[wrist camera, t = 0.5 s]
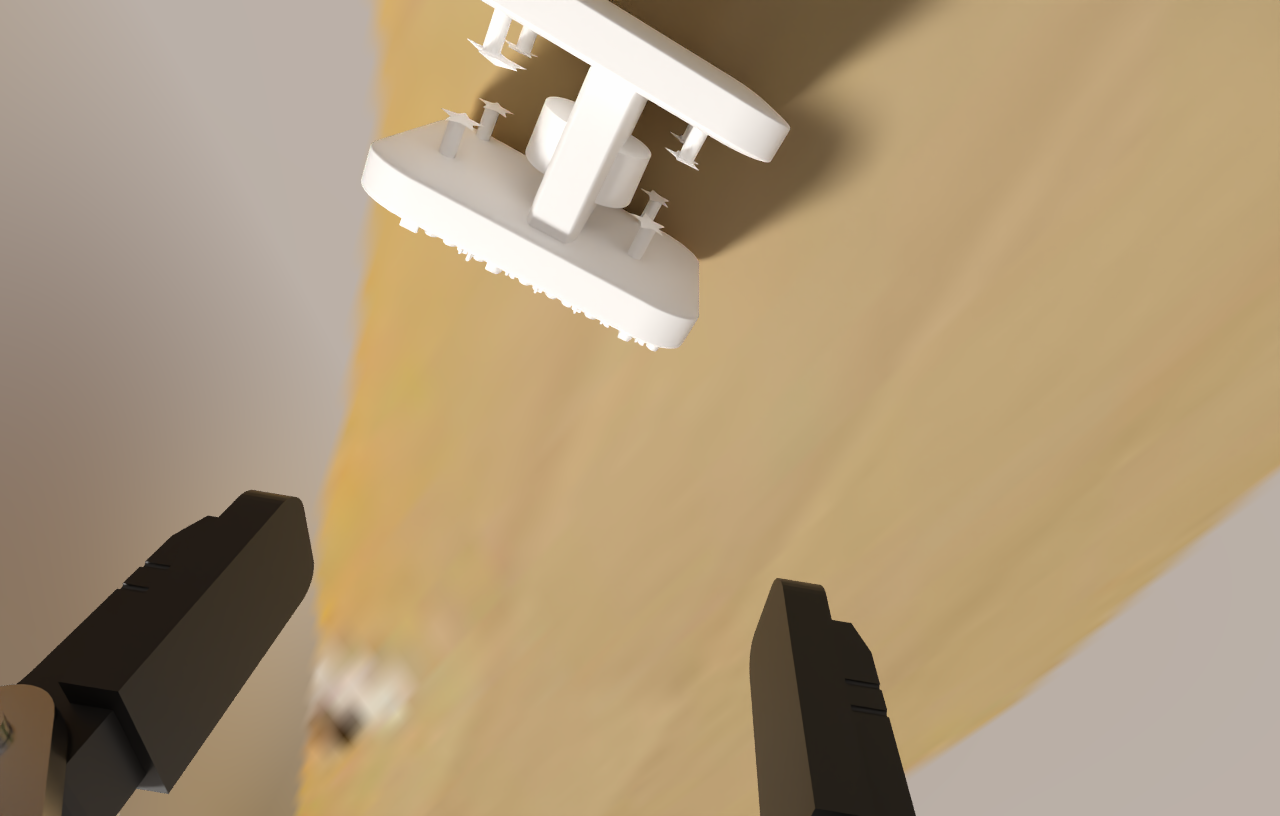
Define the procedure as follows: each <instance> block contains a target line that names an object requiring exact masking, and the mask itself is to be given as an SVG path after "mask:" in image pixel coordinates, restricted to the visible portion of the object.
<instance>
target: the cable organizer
mask: <svg viewBox="0 0 1280 816" xmlns="http://www.w3.org/2000/svg"><path fill="white" fill-rule="evenodd" d="M481 1H483V2H485V3H486V4H488V5H490V6H492V7H493V8H495V10H494V13H493V16H492V19H491V22H490V25H489V28H488V31H487V34H486V37H485V40H484V44H483V46H481V45H479V44H477V43H475V42H473V41H471V40H469V39H468V40H469V41H470V42H471V43H472V44H473V45H474V46H475V47H476V48H477V49H478V50H479V52H480V53H481V54H482V55H483V56H485V57H486V58H487V59H488V60H489V61H491V62H492V63H493V64H494V65H497V66H500V67H504V68H507V69H511V70H514V71H517V70H516V69H515V68H519V69H525V68H523V67H521V66H519V65H518V64H516V63H514V62H512V61H510V60H508V59H507V58H506V57H504V56H503V55H502V54H501V50H502V47H503V44H504V41H506V42H507V43H508V44H509V46H508V47H510V48H512V49H513V50H515V51H517V52H519V53H521V54H523V55H525V56H527V57H530V58H531V56H535V57H537V56H536V55H534V54H532V53H531V50H532V48H533V45H534V42H535V39H536V37H537V34H539V35H540V36H542V37H544V38H545V39H547V40H549V41H550V42H552V43H554V44H556V45H557V46H559V47H561V48H562V49H564V50H566V51H567V52H569V53H571V54H572V55H574V56H576V57H577V58H579V59H581V60H582V61H584V62H586V63H588V64H589V65H591V67H590V69H589V71H588V73H587V76H586V78H585V80H584V83H583V85H582V87H581V90H580V92H579V94H578V97H577V99H576V102H574V101H571V100H569V99H565V98H561V97H548V98H547V99H546V100H545V103H544V105H543V108H542V110H541V113H540V115H539V118H538V120H537V123H536V125H535V128H534V130H533V133H532V135H531V138H530V140H529V143H528V145H527V148H526V151H525V154H526V155H524V154H522V153H521V152H519V151H517V150H515V149H513V148H512V147H510V146H508V145H506V144H504V143H503V142H501V141H499V140H497V139H495V138H494V137H492V136H491V135H492V132H493V129H494V127H495V124H496V121H497V118H498V116H499V113H500V114H501V115H503V116H504V117H506V115H505V113H509V114H513V113H511V112H510V111H508V110H506V109H504V108H503V107H501V106H500V104H499V103H492V102H489V101H486V100H483V99H480V98H479V99H480V100H482V101H483V102H484V103H485V104H486V105H485V106H484V108H485V110H484V113H483V115H482V118H481V121H480V124H479V123H477V122H475V121H473V120H471V119H469V117H468V116H467V114H466V113H459V114H457V113H455V112H452V111H449V110H446V109H443V108H442V109H443V110H444V111H445V112H446V113H448V114H449V115H450V116H449V117H448V118H446V120H440V121H437V122H434V123H431V124H427V125H424V126H421V127H418V128H415V129H412V130H408V131H405V132H402V133H399V134H396V135H392V136H389V137H386V138H383V139H380V140H377V141H374V142H373V143H371V146H370V149H369V153H368V157H367V161H366V164H365V168H364V172H363V175H362V179H361V183H362V186H363V188H364V190H365V191H366V192H367V193H368V194H369V195H370V196H371V197H372V198H373V199H374V200H375V201H376V202H378V203H379V204H380V205H382V206H383V207H384V208H386V209H387V210H389V211H390V212H392V213H394V214H395V215H397V216H399V217H401V218H402V219H401V222H400V225H401V226H403V227H404V228H406V229H408V230H410V231H412V232H414V233H417V232H418V229H419V227H420V228H422V229H424V230H425V233H426V234H427V235H429V236H431V237H439V238H441V239H443V242H444V243H445V244H446V245H448V246H452V247H454V246H457V247H458V248H457V250H458V251H459V252H458V254H461V253H464V254H467V252H468V254H467V257H466V261H469V260H470V259H471V258H472V257H474V259H475V260H477V261H480V262H482V261H486V262H487V265H486V267H485V269H486V270H488V271H490V272H492V273H495V274H499V273H501V272H502V270H503V271H505V272H506V273H505V275H508V274H509V276H510V278H512V279H514V277H517V278H518V279H519V282H520V283H522V284H524V285H532V286H533V289H534V293H536V292H537V291H538V292H540V293H541V292H542V291H544V292H545V293H546V295H547V296H548V297H549V298H551V299H556V298H557V299H559V300H561V302H562V304H563V305H565V306H566V307H569V308H570V307H571V306H572V309H573V313H574V314H575V313H576V312H578V313H580V312H581V311H583V312H584V314H585V316H586V317H588V318H590V319H598V320H600V324H602V323H603V324H604V326H605V327H607V328H608V327H609V325H610V326H612V327H614V328H616V329H617V330H619V334H618V338H620V339H622V340H624V341H630V340H631V338H632V337H633V338H635V342H637V341H638V343H639V344H640V345H642V346H643V344H644V343H646V346H647V347H648V348H649V349H650V350H652V351H657V350H658V348H659V347H662V348H678V347H680V346H681V345H682V343H683V342H684V340H685V338H686V337H687V335H688V334H689V332H690V330H691V329H692V327H693V326H694V324H695V322H696V321H697V319H698V317H699V261H698V259H697V258H696V256H695V255H694V254H693V253H692V252H691V251H690V250H689V249H688V248H687V247H685V246H684V245H683V244H681V243H680V242H679V241H677V240H676V239H674V238H673V237H671V236H670V235H668V234H666V233H665V232H663V231H661V230H659V229H660V228H664V226H662V225H660V224H658V223H656V222H654V221H653V220H654V218H655V217H656V215H657V213H658V211H659V209H660V207H661V205H662V204H663V205H664V206H666V207H667V205H666V204H665V202H669V201H668V200H667V199H665V198H663V197H661V196H660V195H658V194H657V193H656V192H655V191H654V190H652V191H651V192H649V191H646V190H644V189H642V190H643V191H644V192H646V193H647V194H648V195H649V198H650V199H649V201H648V203H647V205H646V207H645V209H644V211H643V213H642V215H641V216H638V215H635V214H632V213H631V214H630V213H629V212H627V211H625V210H623V209H621V208H624V207H627V206H628V205H629V204H630V202H631V200H632V198H633V196H634V193H635V191H636V189H637V187H638V184H639V182H640V180H641V178H642V175H643V173H644V171H645V169H646V166H647V164H648V162H649V159H650V157H651V152H650V150H649V148H648V147H647V146H646V145H645V144H644V143H642V142H641V141H640V140H638V139H637V138H635V137H634V136H632V135H631V134H632V132H633V130H634V128H635V126H636V124H637V122H638V120H639V117H640V115H641V113H642V111H643V109H644V107H645V105H646V103H647V101H648V100H650V101H651V102H653V103H655V104H657V105H658V106H660V107H662V108H663V109H665V110H667V111H668V112H670V113H672V114H673V115H675V116H677V117H678V118H680V119H682V120H683V121H685V122H687V123H689V125H688V126H687V128H686V130H685V132H684V134H683V136H682V135H680V136H678V135H676V134H674V133H672V132H670V133H672V134H673V135H674V136H675V137H676V138H677V139H678V140H680V142H681V143H683V144H684V145H683V147H682V149H681V151H679V150H678V151H677V152H674V151H672V150H670V149H668V148H666V149H667V150H668V151H669V152H670V153H672V154H673V155H674V156H675V157H676V160H678V161H680V162H682V163H684V164H686V165H688V166H690V167H692V168H694V169H696V170H698V169H697V168H696V166H695V165H694V164H698V163H696V162H694V160H695V158H696V156H697V154H698V152H699V150H700V148H701V147H702V145H703V143H704V141H705V139H706V137H707V136H708V135H709V136H710V137H712V138H714V139H715V140H717V141H719V142H721V143H722V144H724V145H726V146H728V147H730V148H732V149H734V150H736V151H738V152H740V153H742V154H744V155H746V156H748V157H751V158H753V159H756V160H759V161H762V162H771V160H772V159H773V157H774V155H775V154H776V152H777V150H778V149H779V147H780V145H781V144H782V142H783V141H784V139H785V137H786V136H787V134H788V132H789V131H790V126H789V124H788V123H787V122H786V121H785V120H784V119H783V118H782V117H781V116H780V115H779V114H778V113H777V112H776V111H775V110H774V109H773V108H772V107H771V106H770V105H769V104H767V103H766V102H765V101H764V100H763V99H762V98H761V97H760V96H758V95H757V94H756V93H755V92H753V91H752V90H751V89H749V88H748V87H746V86H745V85H744V84H742V83H741V82H739V81H738V80H736V79H734V78H733V77H731V76H730V75H728V74H726V73H725V72H723V71H722V70H720V69H718V68H717V67H715V66H714V65H712V64H710V63H709V62H707V61H705V60H704V59H702V58H701V57H699V56H697V55H696V54H694V53H692V52H691V51H689V50H688V49H686V48H684V47H683V46H681V45H680V44H678V43H676V42H675V41H673V40H671V39H670V38H668V37H667V36H665V35H663V34H662V33H660V32H658V31H657V30H655V29H654V28H652V27H650V26H649V25H647V24H645V23H644V22H642V21H641V20H639V19H637V18H636V17H634V16H633V15H631V14H629V13H628V12H626V11H624V10H623V9H621V8H620V7H618V6H616V5H615V4H613V3H611V2H610V1H608V0H481ZM512 19H513V20H515V21H517V22H518V23H520V24H522V25H524V26H523V29H522V31H521V34H520V37H519V40H518V42H517V45H515V44H513V43H511V42H509V41H507V40H505V38H506V35H507V32H508V29H509V27H510V24H511V21H512ZM525 70H527V69H525ZM473 125H474V126H479V127H478V130H477V129H475V128H473ZM698 171H699V170H698ZM640 189H641V188H640ZM667 208H668V207H667Z"/></svg>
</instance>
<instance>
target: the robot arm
mask: <svg viewBox="0 0 1280 816" xmlns="http://www.w3.org/2000/svg"><path fill="white" fill-rule="evenodd" d="M313 570H314V561H313V555H312V549H311V544H310V539H309V533H308V528H307V522H306V517H305V512H304V507H303V504H302V501H301V500H300V499H299V498H297V497H292V496H286V495H279V494H274V493H268V492H261V491H256V490H249V491H246V492H244V493H243V494H241V495H240V496H239V497H238V498H237V499H236V500H235V501H234V502H233V503H232V504H231V505H230V506H229V507H228V508H227V509H226V510H225V511H224V512H223V513H222V514H221V515H220V516H219V517H212V516H206V517H204V518H203V519H201V520H199V521H197V522H196V523H194V524H192V525H190V526H188V527H187V528H185V529H183V530H181V531H180V532H178V533H176V534H174V535H172V536H171V537H170V538H169V539H168V540H167V541H166V542H165V543H164V544H163V545H162V546H161V547H160V548H159V549H158V550H157V551H156V552H155V553H154V554H153V555H152V556H151V557H149V558H148V559H147V560H146V561H145V566H144V567H139V568H138V569H137V570H136V571H135V572H134V573H133V574H132V575H131V576H130V577H129V578H128V579H127V580H126V581H125V582H124V583H123V587H122V588H121V589H116V590H115V591H114V592H113V593H112V594H111V595H110V596H109V597H108V598H107V599H106V600H105V601H104V602H103V603H102V604H101V605H100V606H99V607H98V608H97V609H96V610H95V611H94V612H92V613H91V614H90V616H89V617H88V618H86V619H85V620H84V621H83V622H82V623H81V624H80V625H79V626H78V627H77V628H76V629H75V630H74V631H73V632H72V633H71V634H70V635H69V636H68V637H67V638H66V639H65V640H64V641H62V643H60V645H58V646H57V647H56V648H55V649H54V650H53V651H52V652H51V653H50V654H49V655H48V656H47V657H46V658H45V659H44V660H43V661H42V662H41V663H40V664H39V665H38V666H37V667H36V668H35V669H33V671H31V672H30V673H29V674H28V675H27V676H26V677H25V678H23V679H22V680H21V681H20V682H19V683H17V684H12V685H4V686H0V816H120V815H119V811H120V810H121V808H122V807H123V806H124V804H125V803H126V802H127V800H128V799H129V798H130V796H131V795H132V794H133V792H134V791H135V790H136V789H142V790H148V791H154V792H160V793H167V794H169V792H170V791H171V789H172V788H173V786H174V785H175V783H176V782H177V780H178V779H179V778H180V776H181V775H182V773H183V772H184V771H185V769H186V767H187V766H188V765H189V763H190V762H191V760H192V759H193V758H194V756H195V755H196V753H197V752H198V750H199V749H200V747H201V746H202V744H203V743H204V742H205V740H206V738H207V737H208V736H209V734H210V733H211V732H212V730H213V728H214V727H215V726H216V724H217V723H218V721H219V720H220V719H221V717H222V716H223V714H224V713H225V711H226V710H227V708H228V707H229V705H230V704H231V703H232V701H233V700H234V698H235V697H236V695H237V694H238V693H239V691H240V690H241V688H242V687H243V685H244V684H245V682H246V681H247V679H248V678H249V677H250V675H251V674H252V672H253V671H254V669H255V668H256V667H257V665H258V664H259V662H260V661H261V659H262V658H263V657H264V655H265V654H266V652H267V651H268V649H269V648H270V646H271V645H272V644H273V642H274V641H275V639H276V638H277V636H278V635H279V633H280V632H281V630H282V629H283V628H284V626H285V624H286V623H287V622H288V620H289V619H290V618H291V616H292V615H293V613H294V612H295V610H296V609H297V607H298V606H299V605H300V603H301V602H302V600H303V599H304V597H305V595H306V593H307V591H308V589H309V586H310V583H311V580H312V576H313ZM879 685H880V683H879V679H878V675H877V672H876V668H875V664H874V661H873V657H872V653H871V651H870V650H869V648H868V647H867V645H866V644H865V643H864V641H863V640H862V638H861V637H860V635H859V634H858V632H857V631H856V629H855V628H854V626H853V625H852V624H851V623H847V622H841V621H835V620H832V619H831V615H830V610H829V606H828V601H827V596H826V593H825V590H824V588H823V587H822V586H821V585H817V584H811V583H805V582H799V581H793V580H787V579H780V578H777V579H775V580H774V582H773V584H772V587H771V590H770V592H769V595H768V598H767V601H766V603H765V606H764V609H763V612H762V614H761V617H760V620H759V623H758V625H757V628H756V631H755V633H754V637H753V641H752V645H751V652H750V686H751V699H752V712H753V725H754V739H755V752H756V765H757V778H758V791H759V804H760V816H916V815H915V811H914V807H913V804H912V800H911V797H910V793H909V789H908V786H907V782H906V778H905V774H904V771H903V767H902V763H901V760H900V756H899V752H898V749H897V745H896V741H895V738H894V734H893V730H892V727H891V723H890V719H889V717H887V714H886V713H887V708H886V705H885V701H884V697H883V694H882V690H880V689H879Z"/></svg>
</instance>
